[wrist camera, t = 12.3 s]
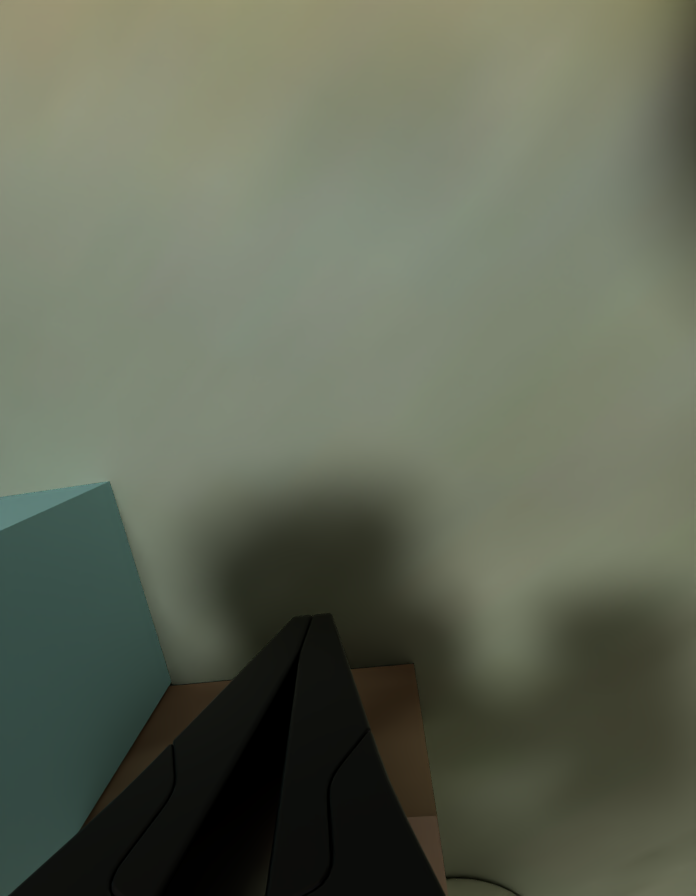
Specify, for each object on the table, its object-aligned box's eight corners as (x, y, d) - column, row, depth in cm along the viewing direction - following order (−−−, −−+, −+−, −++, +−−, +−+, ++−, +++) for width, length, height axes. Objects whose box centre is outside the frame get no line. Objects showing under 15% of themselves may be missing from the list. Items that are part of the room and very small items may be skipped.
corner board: (360, 291, 9) (355, 237, 5) (422, 726, 12) (448, 898, 8) (-235, 397, 11) (-576, 417, 7) (-56, 763, 14) (-228, 924, 10)
